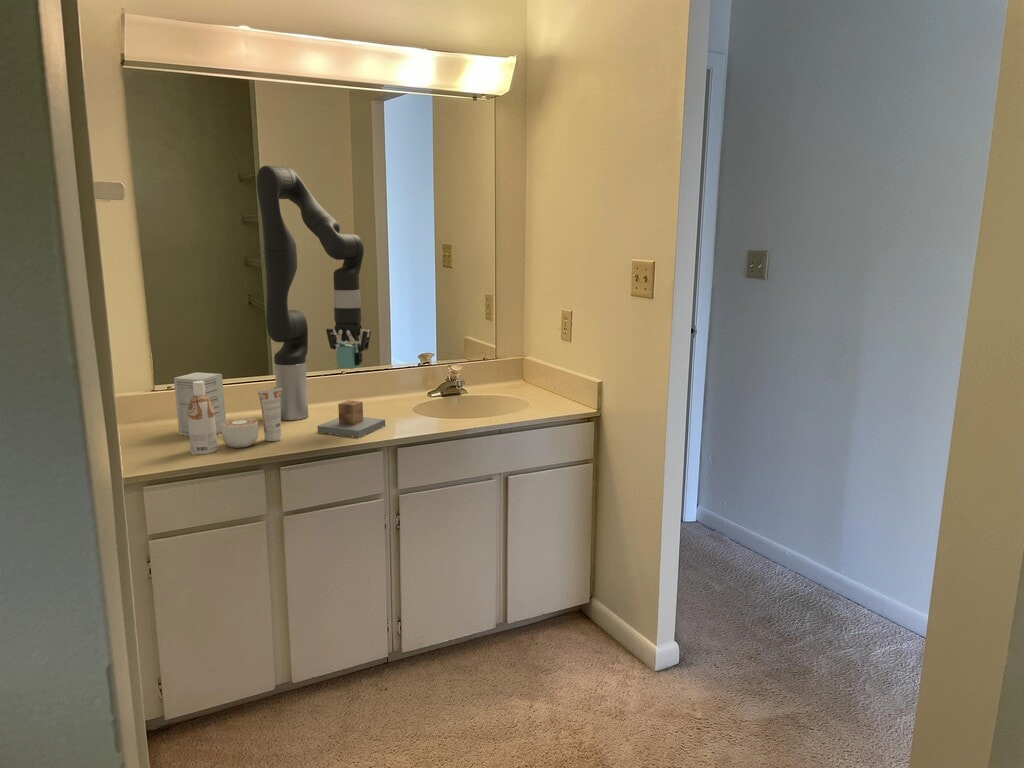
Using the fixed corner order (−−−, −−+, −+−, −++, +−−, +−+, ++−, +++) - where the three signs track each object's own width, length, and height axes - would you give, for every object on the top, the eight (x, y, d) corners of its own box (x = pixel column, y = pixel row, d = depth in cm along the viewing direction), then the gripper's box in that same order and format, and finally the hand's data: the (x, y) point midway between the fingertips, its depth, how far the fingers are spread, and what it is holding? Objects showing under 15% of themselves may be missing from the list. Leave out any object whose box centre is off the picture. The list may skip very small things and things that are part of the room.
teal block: (337, 367, 213) (336, 346, 211) (347, 364, 217) (346, 344, 216) (352, 368, 211) (351, 347, 210) (361, 365, 215) (361, 345, 214)
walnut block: (339, 423, 216) (338, 403, 215) (348, 419, 220) (348, 400, 219) (353, 425, 214) (352, 405, 213) (363, 421, 219) (362, 401, 217)
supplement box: (227, 430, 216) (223, 373, 212) (205, 438, 207) (200, 379, 204) (201, 427, 219) (196, 371, 215) (177, 435, 210) (172, 377, 207)
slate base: (317, 432, 214) (317, 425, 213) (345, 421, 227) (345, 415, 226) (359, 437, 209) (358, 430, 208) (385, 425, 221) (385, 419, 221)
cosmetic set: (279, 434, 212) (275, 370, 208) (291, 442, 205) (287, 375, 201) (186, 449, 197) (180, 380, 193) (195, 458, 190) (189, 386, 186)
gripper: (318, 305, 210) (321, 365, 213) (361, 307, 204) (363, 368, 208) (333, 303, 216) (336, 360, 220) (376, 305, 211) (378, 364, 215)
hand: (349, 364), depth 214 cm, fingers closed on teal block, 5 cm apart
